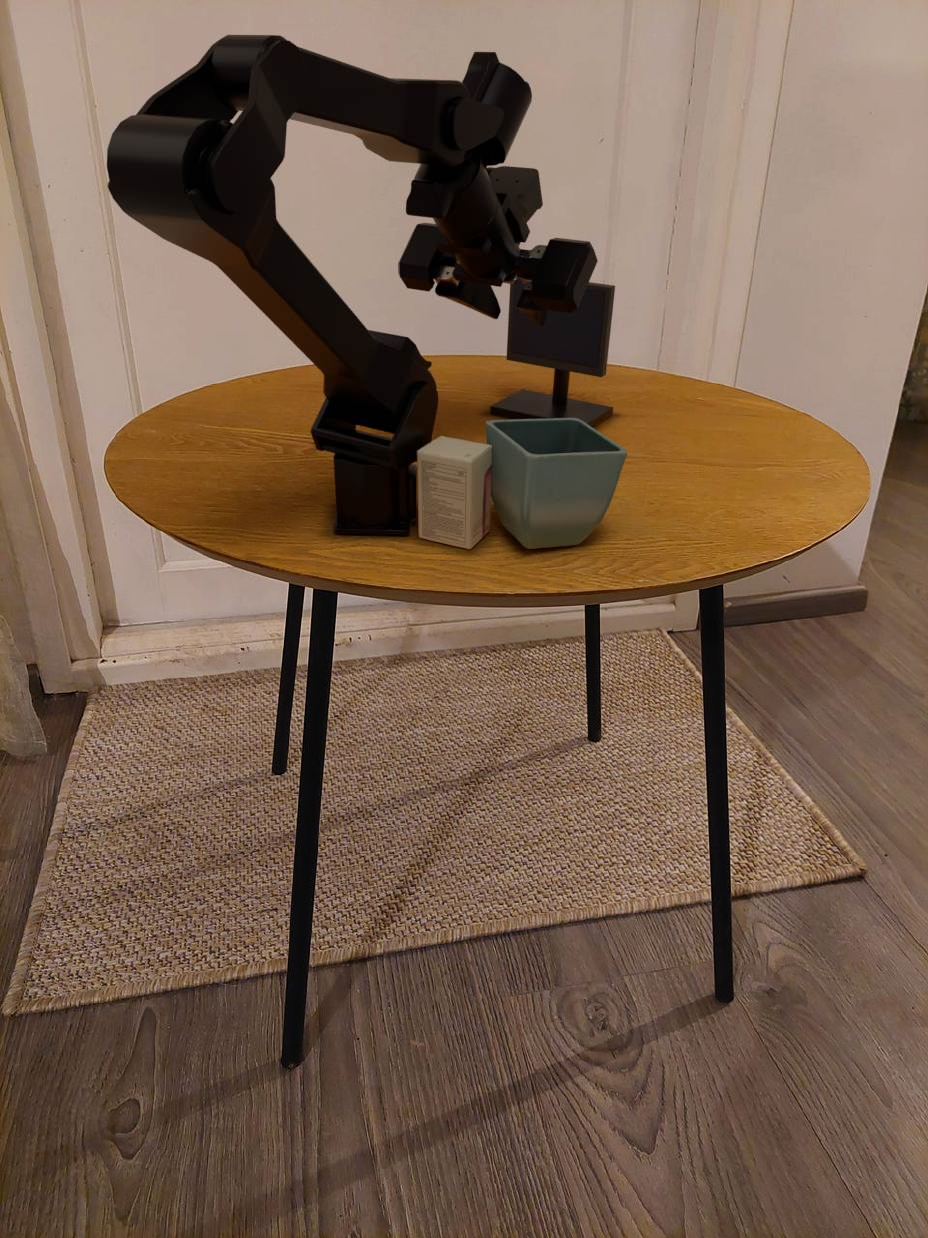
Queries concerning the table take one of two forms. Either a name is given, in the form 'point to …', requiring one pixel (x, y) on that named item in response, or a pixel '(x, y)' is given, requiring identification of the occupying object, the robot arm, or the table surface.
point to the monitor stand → (551, 404)
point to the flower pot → (552, 478)
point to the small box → (454, 491)
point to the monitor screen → (564, 333)
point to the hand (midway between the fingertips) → (519, 318)
